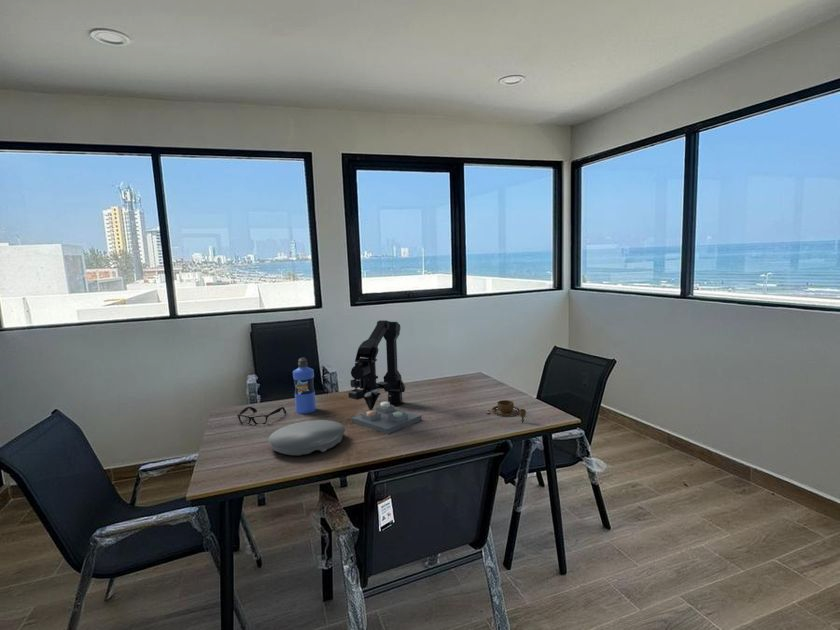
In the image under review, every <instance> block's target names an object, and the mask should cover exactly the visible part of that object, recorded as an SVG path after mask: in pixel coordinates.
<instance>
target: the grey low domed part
mask: <svg viewBox="0 0 840 630" xmlns="http://www.w3.org/2000/svg"><path fill="white" fill-rule="evenodd" d="M345 432H346V428H345V425H343V424H342V423H340V422H337V421H334V420H327V419H326V420H324V419H323V420H322V419H321V420H320V419H318V420H317V419H316V420H315V419H313V420H305V421H301V422H296V423H291V424H288V425H285V426H283V427H281V428H278V429H277V430H275V431H273V432H272V433H271V434H270V435H269V437H268V443H269V444H270V445H271V447H272V450H273V451H274V452H278V453H280V454H283V455H288V456H302V455H309V454H311V453H312V452H315V451H320V452H321V453H323V452H326V451H327V450H329V449H331V448H333V447H335V446H336V445H337V444H339V443H341V441H342V439H343V437H344V436H343V435H344V433H345Z"/></svg>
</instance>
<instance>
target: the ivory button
mask: <svg viewBox="0 0 840 630" xmlns="http://www.w3.org/2000/svg"><path fill="white" fill-rule="evenodd" d="M380 405H381V408H384V409H386V408H388V407H390V402H388V401H381V402H380Z"/></svg>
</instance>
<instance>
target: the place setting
mask: <svg viewBox="0 0 840 630" xmlns="http://www.w3.org/2000/svg"><path fill="white" fill-rule="evenodd" d="M496 408H498V409H497V410H498V411H500V412H497V411H496V410H495V411H493V410H494V409H496ZM513 408H515V409H517V410H518V412H517V411H515V412H513V413H511V412H512V411H513ZM491 411H492V413H493V414H494V415H495V414H497V415H496V416H498V415H502V416H501V417H512V416H511V415H515V416H517V415H518V414H519V416H520V417H521V419H520V420H521V422H522V423H521V424H524V423H525V419H524V418H525V417H526V414H527V411H526V409H524V408H519V407H517V406H515V403H514V402H513V401H512V400H506V399H505V400H504V399H502V400H499V401H497V405H496V406H493V407H492V408H491ZM502 412H503V413H502ZM508 412H510V413H508ZM489 414H490V413H487V415H489ZM516 414H517V415H516ZM523 422H524V423H523Z"/></svg>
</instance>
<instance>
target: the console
mask: <svg viewBox="0 0 840 630" xmlns="http://www.w3.org/2000/svg"><path fill="white" fill-rule="evenodd" d="M370 411H376V414H375V415H372V416H369V415H366V412H367V411H365V412H363V413H361V414H359V415H355V416H352V417H351V423H352V424H356V425H359V426H362V427H365V428H368V429H370V430H374V431H377V432H380V433H383V434H386V435H389V434H392V433H393V432H396V431H397V430H401V429H403V428H405V427H408V426H410V425H412V424H415V423H417V422H420V421H422V419H423V418H422V415H421V414H417V413H414V412H410V411H406V410H404V409H400V408H396V406H393V405H390V407H388V408H386V409H384V408H381V404H380V405H377V406H375V409H373V410H370ZM398 411H399V412H403V415H401V416H399V417H396V416H393V413H394V412H398Z"/></svg>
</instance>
